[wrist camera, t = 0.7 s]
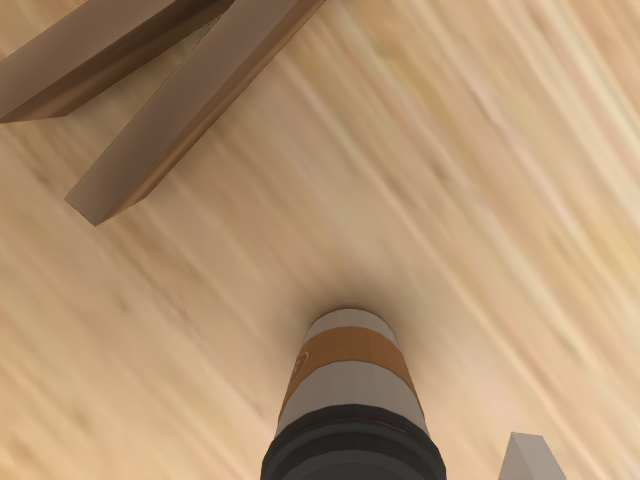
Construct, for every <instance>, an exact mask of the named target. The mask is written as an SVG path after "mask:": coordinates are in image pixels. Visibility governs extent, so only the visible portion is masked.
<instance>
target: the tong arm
mask: <svg viewBox="0 0 640 480" xmlns="http://www.w3.org/2000/svg"><path fill="white" fill-rule="evenodd" d="M234 1H235V0H89V1H87V2H86V3H84V4H83V5H82V6H80V7H79V8H77V9H76V10H74V11H73V12H71V13H70V14H69V15H67V16H66V17H64V18H63V19H61V20H60V21H59V22H57V23H56V24H54V25H53V26H51V27H50V28H49V29H47V30H46V31H44V32H43V33H41V34H40V35H39V36H37V37H36V38H34V39H33V40H31V41H30V42H29V43H27V44H26V45H24V46H23V47H21V48H20V49H18V50H17V51H16V52H14V53H13V54H11V55H10V56H8V57H7V58H6V59H4V60H3V61H1V62H0V124H1V123H10V122H18V121H27V120H35V119H44V118H52V117H61V116H66V115H67V114H69V113H70V112H72V111H73V110H75V109H76V108H78V107H79V106H81V105H82V104H84V103H86V102H87V101H89V100H90V99H92V98H93V97H95V96H96V95H98V94H99V93H101V92H102V91H104V90H105V89H107V88H108V87H110V86H111V85H113V84H115V83H116V82H118V81H119V80H121V79H122V78H124V77H125V76H127V75H128V74H130V73H131V72H133V71H134V70H136V69H137V68H139V67H140V66H142V65H143V64H145V63H147V62H148V61H150V60H151V59H153V58H154V57H156V56H157V55H159V54H160V53H162V52H163V51H165V50H166V49H168V48H169V47H171V46H172V45H174V44H176V43H177V42H179V41H180V40H182V39H183V38H185V37H186V36H188V35H189V34H191V33H192V32H194V31H195V30H197V29H198V28H200V27H201V26H203V25H204V24H206V23H208V22H209V21H211V20H212V19H214V18H215V17H217V16H218V15H220V14H221V13H223V12H224V11H226V10H227V9H228V8H229V7H230V6H231V5H232V4H233V3H234Z"/></svg>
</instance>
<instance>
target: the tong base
mask: <svg viewBox="0 0 640 480" xmlns="http://www.w3.org/2000/svg"><path fill="white" fill-rule="evenodd" d="M325 1H326V0H235V1H234V3H233V4H232V5H231V6H230V7H229V8H228V10H227V11H226V12H225V13H224V14H223V15H222V16H221V18H220V19H219V20H218V21H217V22H216V23H215V25H214V26H213V27H212V28H211V29H210V30H209V31H208V33H207V34H206V35H205V36H204V37H203V38H202V40H201V41H200V42H199V43H198V44H197V45H196V47H195V48H194V49H193V50H192V51H191V52H190V53H189V55H188V56H187V57H186V58H185V59H184V60H183V62H182V63H181V64H180V65H179V66H178V67H177V68H176V70H175V71H174V72H173V73H172V74H171V75H170V77H169V78H168V79H167V80H166V81H165V82H164V84H163V85H162V86H161V87H160V88H159V89H158V90H157V92H156V93H155V94H154V95H153V96H152V97H151V99H150V100H149V101H148V102H147V103H146V104H145V105H144V107H143V108H142V109H141V110H140V111H139V112H138V114H137V115H136V116H135V117H134V118H133V119H132V121H131V122H130V123H129V124H128V125H127V126H126V127H125V129H124V130H123V131H122V132H121V133H120V134H119V136H118V137H117V138H116V139H115V140H114V141H113V142H112V144H111V145H110V146H109V147H108V148H107V149H106V151H105V152H104V153H103V154H102V155H101V156H100V158H99V159H98V160H97V161H96V162H95V163H94V164H93V166H92V167H91V168H90V169H89V170H88V171H87V173H86V174H85V175H84V176H83V177H82V178H81V179H80V181H79V182H78V183H77V184H76V185H75V186H74V188H73V189H72V190H71V191H70V192H69V193H68V195H67V196H66V197H65V198H64V200H65V201H67V202H68V203H69V204H70V205H71V206H72V207H73V208H74V209H76V210H77V211H78V212H79V213H80V214H81V215H82V216H83V217H85V218H86V219H87V220H88V221H89V222H90V223H91V224H92V225H94V226H97V225H99V224H100V223H102V222H104V221H106V220H107V219H109V218H111V217H113V216H114V215H116V214H118V213H120V212H121V211H123V210H125V209H127V208H128V207H130V206H132V205H133V204H135V203H137V202H139V201H140V200H142V199H144V198H145V197H146V196H147V195H148V194H149V193H150V192H151V191H152V190H153V188H154V187H155V186H156V185H157V184H158V183H159V182H160V181H161V180H162V179H163V178H164V176H165V175H166V174H167V173H168V172H169V171H170V170H171V169H172V168H173V167H174V166H175V164H176V163H177V162H178V161H179V160H180V159H181V158H182V157H183V156H184V155H185V154H186V152H187V151H188V150H189V149H190V148H191V147H192V146H193V145H194V144H195V143H196V141H197V140H198V139H199V138H200V137H201V136H202V135H203V134H204V133H205V132H206V131H207V129H208V128H209V127H210V126H211V125H212V124H213V123H214V122H215V121H216V120H217V119H218V117H219V116H220V115H221V114H222V113H223V112H224V111H225V110H226V109H227V108H228V107H229V105H230V104H231V103H232V102H233V101H234V100H235V99H236V98H237V97H238V96H239V95H240V93H241V92H242V91H243V90H244V89H245V88H246V87H247V86H248V85H249V84H250V83H251V81H252V80H253V79H254V78H255V77H256V76H257V75H258V74H259V73H260V72H261V70H262V69H263V68H264V67H265V66H266V65H267V64H268V63H269V62H270V61H271V60H272V58H273V57H274V56H275V55H276V54H277V53H278V52H279V51H280V50H281V49H282V48H283V46H284V45H285V44H286V43H287V42H288V41H289V40H290V39H291V38H292V37H293V36H294V34H295V33H296V32H297V31H298V30H299V29H300V28H301V27H302V26H303V25H304V24H305V22H306V21H307V20H308V19H309V18H310V17H311V16H312V15H313V14H314V13H315V11H316V10H317V9H318V8H319V7H320V6H321V5H322V4H323V3H324V2H325Z"/></svg>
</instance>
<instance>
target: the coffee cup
mask: <svg viewBox="0 0 640 480" xmlns="http://www.w3.org/2000/svg"><path fill="white" fill-rule="evenodd" d="M260 480H447V478H446V467H445V465H444V462H443V460H442V457H441V455H440V452H439V450H438V448H437V447H436V445H435V444H434V443H433V442H432V440H431V438H430V435H429V432H428V429H427V427H426V424H425V418H424V413H423V410H422V408H421V405H420V402H419V399H418V396H417V394H416V391H415V388H414V385H413V383H412V380H411V377H410V374H409V371H408V369H407V366H406V363H405V361H404V358H403V356H402V353H401V352H400V350H399V347H398V344H397V341H396V339H395V336H394V334H393V332H392V330H391V329H390V328H389V326H388V325H387V324H386V323H385V322H384V321H383V320H381V319H380V318H379V317H377V316H376V315H374V314H371V313H369V312H367V311H364V310H358V309H341V310H336V311H333V312H330V313H328V314H326V315H324V316H323V317H321V318H320V319H318V320H317V321H316V322H315V323H314V324H313V325H312V326H311V327H310V329H309V330H308V332H307V334H306V336H305V339H304V341H303V344H302V348H301V350H300V352H299V354H298V357H297V359H296V363H295V366H294V369H293V372H292V375H291V379H290V382H289V385H288V388H287V392H286V395H285V398H284V401H283V405H282V408H281V411H280V414H279V418H278V427H277V431H276V434H275V437H274V440H273V441H272V442H271V444H270V447H269V449H268V451H267V453H266V455H265V457H264V459H263V462H262V469H261V477H260Z"/></svg>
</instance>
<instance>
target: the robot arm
mask: <svg viewBox="0 0 640 480" xmlns="http://www.w3.org/2000/svg"><path fill="white" fill-rule="evenodd" d="M498 480H567V479H566V477H565V475H564V473H563V472H562V470H561V468H560V466H559V465H558V463H557V461H556V459H555V458H554V456H553V454H552V452H551V451H550V449H549V447H548V445H547V443H546V442H545V440H544V438H543V436H539V435H531V434H523V433H515V432H511V436H510V440H509V443H508V447H507V450H506V454H505V457H504V461H503V465H502V468H501V472H500V475H499V479H498Z"/></svg>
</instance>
